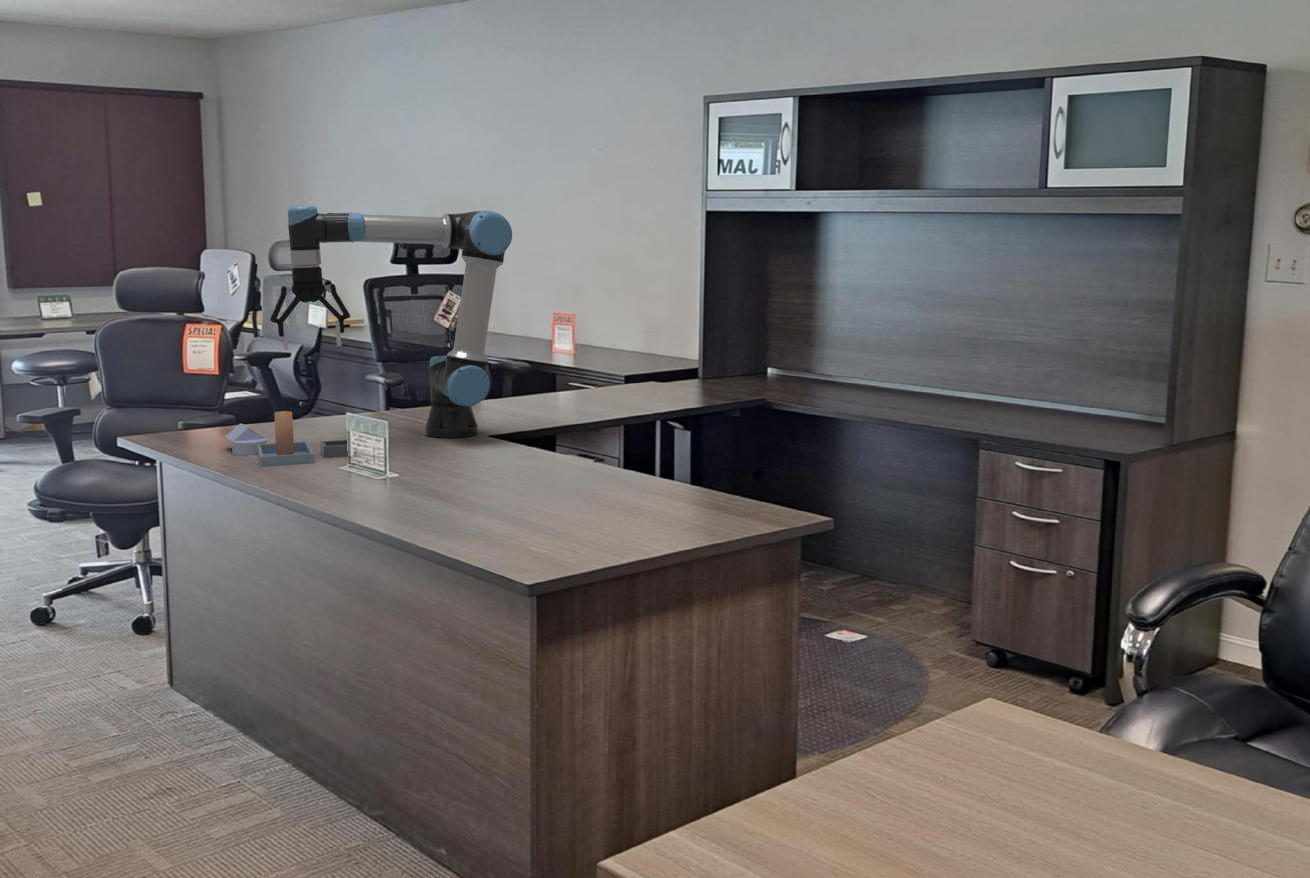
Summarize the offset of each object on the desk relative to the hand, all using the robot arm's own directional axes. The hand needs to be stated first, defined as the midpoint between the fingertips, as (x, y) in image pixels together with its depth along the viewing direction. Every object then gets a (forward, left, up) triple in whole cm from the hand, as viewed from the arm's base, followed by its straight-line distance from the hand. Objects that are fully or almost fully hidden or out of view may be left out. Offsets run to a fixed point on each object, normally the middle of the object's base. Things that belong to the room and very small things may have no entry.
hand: (312, 347), depth 323 cm
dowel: (+9, +8, -28) cm, 30 cm away
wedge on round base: (+17, -8, -29) cm, 35 cm away
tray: (+9, +8, -28) cm, 31 cm away
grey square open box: (-5, +7, -28) cm, 30 cm away
